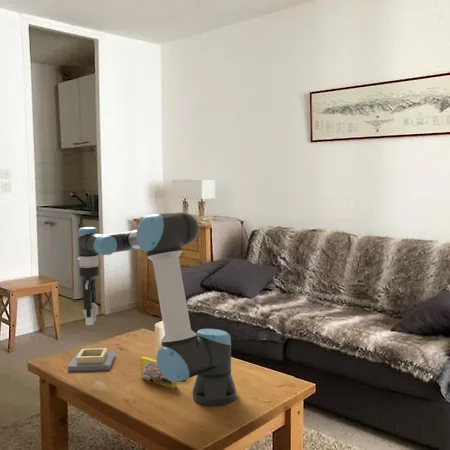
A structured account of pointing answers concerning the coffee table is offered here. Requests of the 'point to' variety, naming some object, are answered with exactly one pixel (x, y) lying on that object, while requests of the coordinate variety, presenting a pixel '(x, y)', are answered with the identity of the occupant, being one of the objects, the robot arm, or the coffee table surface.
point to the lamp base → (92, 360)
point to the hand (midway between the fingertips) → (90, 322)
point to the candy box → (154, 372)
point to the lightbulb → (95, 311)
